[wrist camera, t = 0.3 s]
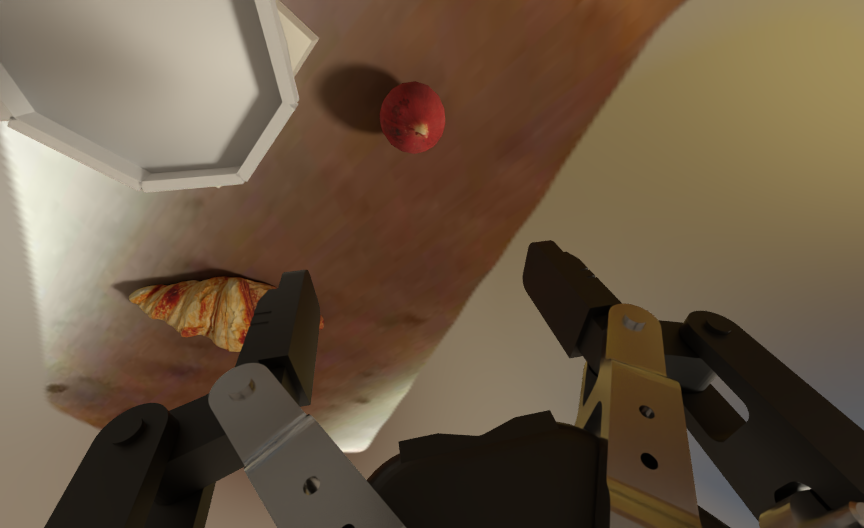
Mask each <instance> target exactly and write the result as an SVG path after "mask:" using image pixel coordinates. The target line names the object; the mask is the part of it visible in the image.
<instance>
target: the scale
mask: <svg viewBox="0 0 864 528" xmlns="http://www.w3.org/2000/svg"><path fill="white" fill-rule="evenodd" d="M318 39H319V38H318V37H317V36H316V35H315V34H314V33H313V32H312V31H311V30H310V29H309V28H308V27H307V26H306V25H305V24H304V23H303V22H302V21H301V20H299V19H298V18H297V17H296V16H295V15H294V14H293V13H292V12H291V11H290V10H289V9H288V8H287V7H286V6H285V5H284V4H283V3H281V2H280V1H279V0H0V121H9V123H8V127H10V128H12V129H14V130H16V131H18V132H20V133H22V134H24V135H26V136H28V137H30V138H32V139H34V140H36V141H38V142H40V143H42V144H44V145H46V146H48V147H50V148H52V149H54V150H56V151H58V152H60V153H62V154H64V155H66V156H68V157H70V158H72V159H74V160H76V161H78V162H80V163H82V164H84V165H86V166H89V167H91V168H93V169H95V170H97V171H99V172H101V173H103V174H105V175H107V176H109V177H111V178H113V179H115V180H117V181H119V182H121V183H123V184H125V185H127V186H129V187H131V188H133V189H135V190H137V191H140V190H141V189H143V191H144V193H146V192H158V191H169V190H180V189H191V188H202V187H214V186H215V187H217V188H220V187H221V186H225V185H236V184H243V183H244V182H245V181H246V182H247V181H248V179H249V178H250V176H251V175H252V173H253V172H254V170H255V169H256V167H257V166H258V164H259V163H260V161H261V160H262V158H263V157H264V155H265V154H266V152H267V151H268V149H269V148H270V146H271V145H272V143H273V142H274V140H275V139H276V137H277V136H278V134H279V133H280V131H281V130H282V128H283V127H284V125H285V124H286V122H287V121H288V119H289V118H290V116H291V115H292V113H293V112H294V110H295V109H296V107H297V106H298V103H297V102H298V100H299V96H298V92H297V88H296V84H295V79H294V77H295V75H296V74H297V72H298V71H299V69H300V68H301V66H302V64H303V63H304V61H305V60H306V58H307V57H308V55H309V54H310V52H311V50H312V49H313V47H314V46H315V44H316V43H317V41H318Z"/></svg>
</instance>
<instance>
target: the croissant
mask: <svg viewBox="0 0 864 528" xmlns="http://www.w3.org/2000/svg"><path fill="white" fill-rule="evenodd" d="M269 289H277V288H276V287H274V286H271V285H268V284H264V283H260V282H254V281H251V280H248V279H243V278H240V277H235V278H233V277H213V278H211V279H207V280H203V281H201V282H199V281H197V280H191V281H183V282H179V283H177V284H171V285H169V286H166V285H162V284H161V285H154V286H147V287H143V288H140V289H138V290H136V291H135V292H133V293H132V294H131V295H130V296H129V300H130V301H131V302H133V303H136V304H138V306H139V307H140V308H141V310H143V311H144V312H145V313H146V314H148V315H149V317H150V318H152V319H161V320H164V321H166V323H167V324H169V325H171V326H173V327H174V328H175V329H176V330H177V332H180V333H181V336H182V337H191V336H195V335H199V334H202V336H207V337H209V338H211V339H212V340H213V342H214V343H215V344H216V345H217V346H219V347H221V348H224V349H227V350H228V351H236V352H239V351H241V349H242V346H243V343H244V340H245V337H246V334H247V331H248V328H249V327H250V323H251V320H252V317H253V316H254V311H255V308H256V305H257V303H258V301H259V300H260V298H261V297H262V296H263V295H264V294H265V293H266V292H267V291H268V290H269ZM323 326H324V320H323V317H322V315H320V326H319V330H321V329H323Z"/></svg>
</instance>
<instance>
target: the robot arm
mask: <svg viewBox="0 0 864 528" xmlns="http://www.w3.org/2000/svg"><path fill="white" fill-rule="evenodd" d="M523 284H524V288H525V290H526V292H527V293H528V295H529V296H530V298H531V299H532V301H533V303H534V304H535V306H536V307H537V309H538V310H539V312H540V313H541V315H542V316H543V318H544V319H545V321H546V322H547V324H548V326H549V327H550V329H551V330H552V332H553V333H554V335H555V336H556V338H557V340H558V341H559V342H560V344H561V345H562V347H563V349H564V350H565V352H566V353H567V355H568V356H569V358H574V357H580V356H583V357H584V358H585V359H586V363H585V365H584V369H583V377H582V385H581V393H580V402H579V408H578V414H577V419H576V422H575V425H574V426H573V425H570V424H566V423H561V422H556V421H555V419H554V417H553V415H552V414H551V411H549V410H548V411H544V412H539V413H534V414H529V415H524V416H520V417H515V418H513V419H511V420H509V421H508V422H506V423H504V424H502V425H500V426H498V427H496V428H495V429H493V430H491V431H489V432H487V433H485V434H483V435H480V436H470V435H453V434H439V433H438V434H433V435H428V436H423V437H418V438H413V439H409V440H404V441H400V442H399V450H400V454H398V455H396V456H394V457H392V458H390V459H389V460H388V461H386V462H385V463H383V464H382V465H381V466H380V467H379V468H378V469H377V470H375V471H374V473H373V474H372V475H371V476H370V477H369V478H368V479H367V480H366V479H365V478H364V477H363V476H362V475H361V473H360V472H359V471H358V470H357V469H356V467H355V466H354V465H353V464H352V463H351V461H350V460H349V459H348V458H347V457H346V456H345V454H344V453H343V452H342V451H341V450H340V448H339V447H338V446H337V445H336V444H335V442H334V441H333V440H332V439H331V438H330V437H329V435H328V434H327V433H326V432H325V431H324V429H323V428H322V427H321V426H320V425H319V423H318V422H317V421H316V420H315V419H314V418H313V417H312V416H311V415H309V414H308V415H306V414H305V413H304V411H303V410H302V409H301V408H300V407H301V406H306V405H310V404H311V396H312V387H313V378H314V369H315V361H316V352H317V343H318V334H319V326H320V308H319V303H318V299H317V296H316V293H315V290H314V287H313V283H312V280H311V277H310V274H309V272H308V270H300V271H292V272H284V273H283V274H282V277H281V281H280V284H279V288H277V289H269V290H268V291H267V292H266V293H265V294H264V295H263V296H262V297H261V298H260V300H259V301H258V303H257V305H256V308H255V311H254V316H253V317H252V320H251V323H250V327H249V328H248V331H247V334H246V337H245V340H244V343H243V346H242V349H241V351H240V354H239V357H238V360H237V363H236V366H235V368H233V369H231V370H229V371H228V372H226V373H225V374H224V375H223V376H221V377H220V378H219V379H218V380H217V381H216V383H215V384H214V385H213V387H212V389H211V391H210V393H209V394H207V395H205V396H203V397H201V398H199V399H196V400H194V401H192V402H189V403H187V404H184V405H182V406H180V407H177V408H175V409H173V410H170V411H168V410H167V409H166V408H165V407H164V406H163V405H161V404H158V403H147V404H142V405H138V406H136V407H133V408H131V409H129V410H127V411H125V412H123V413H122V414H120V415H118V416H117V417H116V418H114V419H113V420H112V421H111V422H109V423H108V424H107V425H106V426H105V427H104V428H103V429H102V430H101V431H100V432H99V434H98V435H97V436H96V438H95V439H94V441H93V442H92V444H91V446H90V448H89V450H88V451H87V453H86V455H85V457H84V458H83V460H82V462H81V464H80V466H79V467H78V469H77V471H76V472H75V474H74V476H73V478H72V479H71V481H70V483H69V485H68V486H67V488H66V490H65V492H64V494H63V495H62V497H61V499H60V501H59V502H58V504H57V506H56V508H55V509H54V511H53V513H52V515H51V517H50V518H49V520H48V522H47V524H46V525H45V527H44V528H204V527H205V524H206V520H207V516H208V512H209V508H210V503H211V499H212V495H213V491H214V487H215V483H216V481H218V480H220V479H221V478H224V477H225V476H227V475H229V474H231V473H233V472H235V471H237V470H239V469H241V468H243V467H244V470H245V472H246V474H247V476H248V478H249V480H250V482H251V483H252V485H253V487H254V488H255V490H256V492H257V493H258V495H259V497H260V499H261V501H262V502H263V504H264V506H265V507H266V509H267V511H268V513H269V514H270V516H271V518H272V519H273V521H274V523H275V524H276V526H277V528H730V527H729V526H727V525H726V524H724V523H723V522H721V521H720V520H718V519H717V518H716V517H714V516H713V515H711V514H710V513H708V512H707V511H705V510H704V509H703V508H701V507H700V506H698V505H697V498H696V491H695V484H694V477H693V471H692V464H691V456H690V449H689V442H688V435H687V429H688V430H689V431H690V433H691V434H692V435H693V437H694V438H695V439H696V441H697V442H698V443H699V444H700V446H701V447H702V448H703V450H704V451H705V452H706V454H707V455H708V456H709V457H710V459H711V460H712V461H713V463H714V464H715V465H716V467H717V468H718V469H719V471H720V472H721V473H722V475H723V476H724V477H725V478H726V480H727V481H728V482H729V484H730V485H731V486H732V488H733V489H734V490H735V491H736V493H737V494H738V495H739V497H740V498H741V499H742V500H743V502H744V503H745V504H746V506H747V507H748V508H749V510H750V511H751V512H752V514H753V515H754V516H755V517H756V519H757V520H758V521H759V526H760V528H864V430H862V429H861V428H860V427H859V426H858V425H856V424H855V423H854V422H853V421H852V420H850V419H849V418H848V417H847V416H846V415H844V414H843V413H842V412H841V411H839V410H838V409H837V408H836V407H835V406H834V405H832V404H831V403H830V402H829V401H828V400H826V399H825V398H824V397H823V396H822V395H821V394H819V393H818V392H817V391H816V390H815V389H813V388H812V387H811V386H810V385H809V384H807V383H806V382H805V381H804V380H803V379H801V378H800V377H799V376H798V375H797V374H795V373H794V372H793V371H792V370H790V369H789V368H788V367H787V366H786V365H785V364H783V363H782V362H781V361H780V360H779V359H777V358H776V357H775V356H774V355H773V354H771V353H770V352H769V351H768V350H767V349H765V348H764V347H763V346H762V345H761V344H759V343H758V342H757V341H756V340H755V339H753V338H752V337H751V336H750V335H749V334H747V333H746V332H745V331H743V329H741V328H740V327H739V326H738V325H737V324H735V323H734V322H732V321H731V320H729V319H727V318H725V317H723V316H721V315H718V314H715V313H712V312H707V311H694V312H692V313H690V314H689V315H688V317H687V318H686V320H685V321H684V323H680V322H670V321H660V320H658V319H657V318H656V317H655V316H654V315H652V314H651V313H650V312H648V311H647V310H645V309H643V308H641V307H638V306H635V305H632V304H622V303H621V302H620V301H619V300H618V299H617V298H616V297H615V296H614V295H613V294H612V292H611V291H610V290H608V288H607V287H605V285H604V284H603V283H602V282H601V281H600V280H599V279H598V278H597V277H596V278H595V275H594V274H593V273H592V272H591V271H590V270H588V268H587V267H586V266H585V265H584V264H583V263H582V261H581V260H580V259H578V258H576V257H575V256H573V255H571V254H569V253H568V252H563V251H562V250H561V249H560V248H559V247H558V246H557V245H556V243H555V242H553V241H551V240H550V241H541V242H533V243H531V244H530V245H529V248H528V252H527V257H526V262H525V267H524V272H523ZM717 375H718V376H719V377H720V378H721V379H722V380H723V381H724V382H725V383H726V385H727V386H729V388H730V389H731V390H732V391H733V392H734V393H735V394H736V395H737V396H738V397H739V398H740V399H741V400H742V401H743V402H744V403H745V405H746V407H747V409H748V411H749V419H748V421H747V422H746V421H745V420H744V419H743V418H742V417H741V416H740V415H739V414H738V413H737V412H736V411H735V410H734V408H733V407H732V406H731V405H730V404H729V403H728V402H727V401H726V400H725V399H724V398H723V397H722V396H721V395H720V393H719V392H718V391H717V390H716V389H715V388H714V387H713V386H712V385H711V384H710V383H711V382H712V381H713V380H714V379H715V377H716V376H717Z"/></svg>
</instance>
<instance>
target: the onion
mask: <svg viewBox="0 0 864 528" xmlns="http://www.w3.org/2000/svg"><path fill="white" fill-rule="evenodd" d="M379 117H380V123H381V128H382V132H383V133H384V134H385V136H386V137H387V139H388V140H389V142H390V143H391V145H393V146H394V147H396V148H398V149H399V150H401V151H403V152H408V153H413V154H415V153H420V152H424V151H426V150H428V149H430V148H432V147H433V146H435V145H436V143H437V142H438V140H439V139H440V137H441V136H442V134H443V130H444V126H445V112H444V107H443V105H442V103H441V101H440V98H439V96H438V95H437V94H436V93H435V92H434V91H433V90H432V89H431V88H430V87H429V86H428V85H425V84H422V83H418V82H408V83H402V84H400V85H398V86H396V87H395V88H393V89H392V90H391V91H390V92H389V93H388V95H387V96H386V97H385V99H384V100H383V103H382V107H381V111H380V115H379Z"/></svg>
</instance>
